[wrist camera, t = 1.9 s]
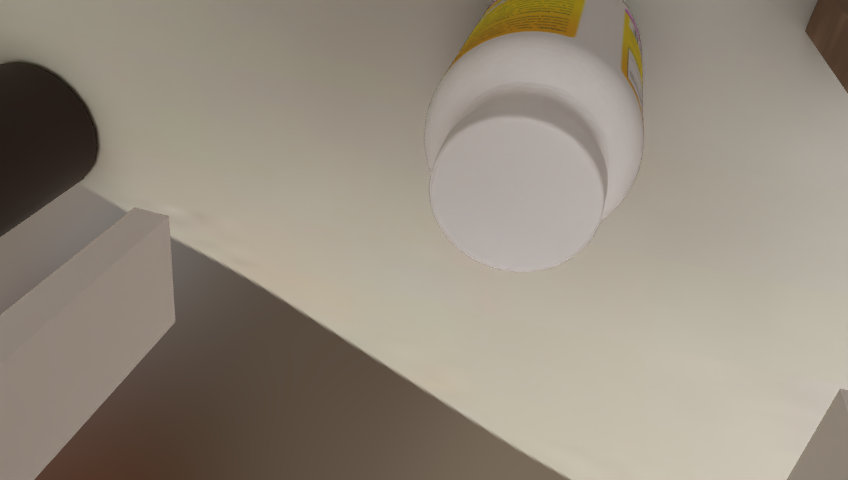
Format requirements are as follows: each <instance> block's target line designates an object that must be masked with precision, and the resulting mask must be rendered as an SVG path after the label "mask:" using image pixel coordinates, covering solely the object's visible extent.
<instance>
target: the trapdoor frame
mask: <svg viewBox="0 0 848 480" xmlns="http://www.w3.org/2000/svg"><path fill="white" fill-rule="evenodd" d="M805 32H806V33H807V34H808V36H809V37H810V39H811V40H812V42H813V43H814V45H815V46H816V48H817V49H818V51H819V52H820V53H821V55H822V56H823V58H824V59H825V61H826V62H827V64H828V65H829V67H830V68H831V70H832V71H833V72H834V74H835V75H836V77H837V78H838V80H839V81H840V83H841V84H842V86H843V87H844V89H845V90H846V91H847V93H848V0H818V2H817V4H816V7H815V9H814V12H813V14H812V16H811V19H810V21H809V24H808V26H807V29H806V31H805Z"/></svg>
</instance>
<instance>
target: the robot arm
mask: <svg viewBox="0 0 848 480" xmlns="http://www.w3.org/2000/svg"><path fill="white" fill-rule="evenodd" d="M174 322H175V310H174V294H173V277H172V262H171V245H170V228H169V216H166V215H162V214H158V213H154V212H150V211H147V210H143V209H139V208H133V209H132V210H131V211H130V212H128V213H127V214H126V215H125V216H123V217H122V218H121V219H120V220H119V221H117V222H116V223H115V224H113V225H112V226H111V227H110V228H108V229H107V230H106V231H105V232H103V233H102V234H101V235H100V236H98V237H97V238H96V239H95V240H93V241H92V242H91V243H90V244H89V245H87V246H86V247H85V248H84V249H82V250H81V251H80V252H79V253H77V254H76V255H75V256H73V257H72V258H71V259H70V260H68V261H67V262H66V263H65V264H64V265H62V266H61V267H60V268H59V269H57V270H56V271H55V272H54V273H52V274H51V275H50V276H49V277H47V278H46V279H45V280H44V281H42V282H41V283H40V284H39V285H37V286H36V287H35V288H34V289H32V290H31V291H30V292H29V293H27V294H26V295H25V296H24V297H22V298H21V299H20V300H19V301H17V302H16V303H15V304H14V305H12V306H11V307H10V308H9V309H7V310H6V311H5V312H4V313H2V314H1V315H0V480H34V479H35V478H36V477H37V476H38V474H40V472H41V471H42V470H43V469H44V468H45V467H46V466H47V464H48V463H49V462H50V461H51V460H52V459H53V458H54V457H55V456H56V454H57V453H58V452H59V451H60V450H61V449H62V448H63V447H64V445H65V444H66V443H67V442H68V441H69V440H70V439H71V438H72V437H73V435H74V434H75V433H76V432H77V431H78V430H79V429H80V428H81V427H82V425H83V424H84V423H85V422H86V421H87V420H88V419H89V418H90V416H91V415H92V414H93V413H94V412H95V411H96V410H97V409H98V408H99V406H100V405H101V404H102V403H103V402H104V401H105V400H106V399H107V398H108V396H109V395H110V394H111V393H112V392H113V391H114V390H115V388H116V387H117V386H118V385H119V384H120V383H121V382H122V381H123V380H124V378H125V377H126V376H127V375H128V374H129V373H130V372H131V371H132V370H133V368H134V367H135V366H136V365H137V364H138V363H139V362H140V361H141V359H142V358H143V357H144V356H145V355H146V354H147V353H148V352H149V351H150V349H151V348H152V347H153V346H154V345H155V344H156V343H157V342H158V340H159V339H160V338H161V337H162V336H163V335H164V334H165V333H166V332H167V330H168V329H169V328H170V327H171V326H172V325H173V323H174ZM787 480H848V391H847V390H843V389H840V390H839V392H838V393H837V395H836V397H835V398H834V400H833V402H832V404H831V405H830V407H829V409H828V410H827V412H826V414H825V416H824V417H823V419H822V421H821V422H820V424H819V426H818V427H817V429H816V431H815V433H814V434H813V436H812V438H811V439H810V441H809V443H808V444H807V446H806V448H805V450H804V451H803V453H802V455H801V456H800V458H799V460H798V462H797V463H796V465H795V467H794V468H793V470H792V472H791V473H790V475H789V477H788V479H787Z"/></svg>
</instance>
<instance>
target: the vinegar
mask: <svg viewBox="0 0 848 480" xmlns="http://www.w3.org/2000/svg"><path fill="white" fill-rule="evenodd" d="M96 150H97V145H96V138H95V131H94V128H93V125H92V123H91V121H90V118H89V116H88V114H87V111H86V109H85V108H84V107H83V105H82V104H81V103H80V101H79V100H78V98H77V97H76V96H75V94H74V93H73V92H72V91H71V90H70V89H69V88H68V87H67V86H65V85H64V84H63V83H62V82H61V81H60V80H59V79H58V78H56V77H55V76H53V75H51V74H50V73H48V72H46V71H44V70H42V69H40V68H38V67H36V66H32V65H27V64H22V63H8V64H2V65H0V237H1V236H2V235H4V234H5V233H6V232H8V231H10V230H11V229H12V228H14V227H15V226H17V225H18V224H20V223H21V222H22V221H24V220H25V219H27V218H28V217H30V216H31V215H32V214H34V213H35V212H37V211H38V210H39V209H41V208H42V207H44V206H45V205H46V204H48V203H50V202H51V201H52V200H54V199H55V198H56V197H58V196H60V195H61V194H62V193H64V192H65V191H67V190H68V189H70V188H71V187H72V186H74V185H75V184H77V183H78V182H80V181H81V180H82V179H84V177H85V176H86V174H87V173H88V172H89V170H90V169H91V167H92V166H93V164H94V160H95V155H96Z"/></svg>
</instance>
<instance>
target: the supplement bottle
mask: <svg viewBox="0 0 848 480" xmlns="http://www.w3.org/2000/svg"><path fill="white" fill-rule="evenodd" d="M642 76H643V75H642V49H641V42H640V36H639V32H638V29H637V26H636V23H635V21H634V18H633V16H632V14H631V13H630V11H629V10H628V8H627V6H626V5H625V4H624V2H623V1H622V0H495V1H494V2H493V3H492V4H491V6H490V7H489V8H488V10H487V11H486V12H485V14H484V15H483V17H482V18H481V20H480V21H479V23H478V24H477V26H476V27H475V29H474V30H473V32H472V33H471V35H470V36H469V38H468V40H467V41H466V43H465V44H464V46H463V47H462V49H461V51H460V52H459V54H458V55H457V57H456V58H455V60H454V61H453V63H452V65H451V66H450V68H449V69H448V71H447V72H446V74H445V75H444V77H443V78H442V80H441V82H440V83H439V85H438V87H437V89H436V91H435V93H434V95H433V97H432V99H431V102H430V105H429V108H428V112H427V116H426V121H425V132H424V144H425V151H426V157H427V161H428V165H429V169H430V171H431V176H430V182H429V196H430V203H431V207H432V210H433V213H434V216H435V219H436V221H437V223H438V225H439V226H440V228H441V230H442V231H443V233H444V234H445V235H446V237H447V238H448V239H449V240H450V241H451V242H452V243H453V244H454V245H455V246H456V247H457V248H458V249H459V250H460V251H462V252H463V253H464V254H466V255H467V256H468V257H470V258H472V259H474V260H475V261H477V262H479V263H481V264H484V265H486V266H489V267H492V268H496V269H500V270H505V271H512V272H533V271H539V270H544V269H548V268H551V267H554V266H557V265H559V264H561V263H563V262H565V261H567V260H569V259H570V258H572V257H573V256H575V255H576V254H578V253H579V252H580V251H581V250H582V249H583V248H584V247H585V246H586V245H587V243H588V242H589V241H590V240H591V238H592V237H593V235H594V234H595V232H596V231H597V228H598V226H599V224H600V221H602V220H603V219H604V218H606V217H607V216H608V215H609V214H610V213H611V212H612V211H613V210H614V209H615V208H616V207H617V206H618V205H619V204H620V203H621V201H622V200H623V199H624V198H625V196H626V195H627V193H628V192H629V190H630V188H631V187H632V185H633V183H634V181H635V179H636V176H637V173H638V170H639V167H640V163H641V159H642V153H643V141H644V126H643V87H642V84H643V81H642Z"/></svg>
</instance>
